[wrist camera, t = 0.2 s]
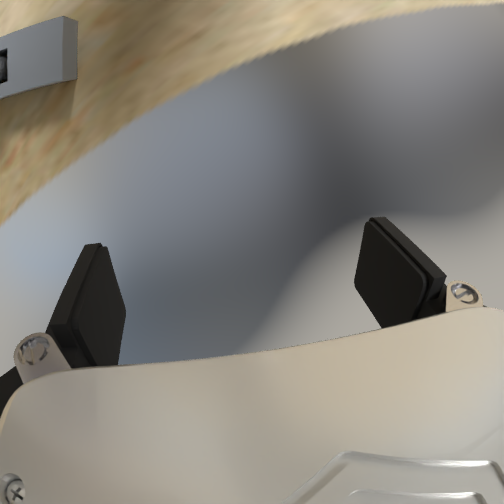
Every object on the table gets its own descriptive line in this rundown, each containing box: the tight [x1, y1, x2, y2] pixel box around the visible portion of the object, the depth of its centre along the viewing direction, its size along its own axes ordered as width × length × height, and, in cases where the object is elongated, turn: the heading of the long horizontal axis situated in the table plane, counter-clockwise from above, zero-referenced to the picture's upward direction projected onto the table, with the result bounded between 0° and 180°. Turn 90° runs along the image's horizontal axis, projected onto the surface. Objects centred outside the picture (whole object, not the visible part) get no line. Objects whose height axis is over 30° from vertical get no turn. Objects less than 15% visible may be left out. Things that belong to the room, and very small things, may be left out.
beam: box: [0, 16, 78, 99], centre depth 24 cm, size 8×20×5 cm, turn 89°
